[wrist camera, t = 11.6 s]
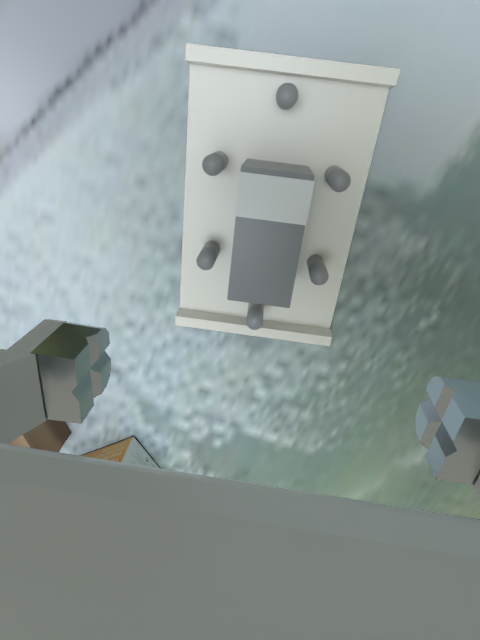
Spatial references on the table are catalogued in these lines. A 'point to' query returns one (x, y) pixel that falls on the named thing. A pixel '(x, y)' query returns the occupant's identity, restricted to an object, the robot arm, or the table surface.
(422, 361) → the table surface
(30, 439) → the walnut block
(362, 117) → the peg board
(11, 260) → the table surface
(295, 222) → the block
